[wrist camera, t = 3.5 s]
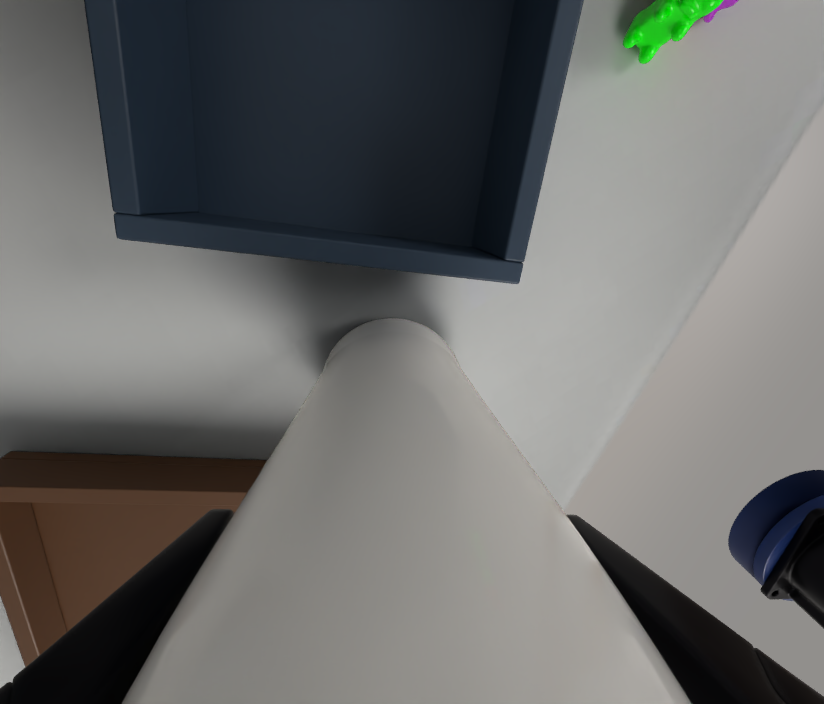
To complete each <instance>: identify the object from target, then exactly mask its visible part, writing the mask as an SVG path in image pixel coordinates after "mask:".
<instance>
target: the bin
mask: <svg viewBox="0 0 824 704" xmlns="http://www.w3.org/2000/svg"><path fill="white" fill-rule="evenodd" d="M583 1H584V0H84V2H85V9H86V17H87V24H88V31H89V39H90V46H91V53H92V61H93V68H94V75H95V83H96V90H97V97H98V105H99V112H100V119H101V126H102V134H103V141H104V148H105V156H106V163H107V170H108V178H109V185H110V192H111V200H112V207H113V211H114V212H116V213H115V214H114V222H115V229H116V236H117V238H119V239H122V240H131V241H140V242H149V243H158V244H166V245H175V246H184V247H193V248H202V249H211V250H220V251H228V252H237V253H246V254H255V255H264V256H273V257H281V258H290V259H299V260H308V261H317V262H326V263H335V264H343V265H352V266H361V267H370V268H379V269H388V270H396V271H405V272H414V273H423V274H432V275H441V276H449V277H458V278H467V279H476V280H485V281H494V282H503V283H511V284H518V283H519V281H520V277H521V272H522V268H523V263H521V262H524V259H525V255H526V250H527V246H528V242H529V237H530V233H531V228H532V224H533V220H534V215H535V211H536V207H537V202H538V198H539V193H540V189H541V185H542V180H543V176H544V172H545V167H546V163H547V158H548V154H549V150H550V145H551V141H552V137H553V132H554V128H555V123H556V119H557V115H558V110H559V106H560V101H561V97H562V93H563V88H564V84H565V80H566V75H567V71H568V66H569V62H570V58H571V53H572V49H573V45H574V40H575V36H576V31H577V27H578V23H579V18H580V14H581V9H582V5H583Z"/></svg>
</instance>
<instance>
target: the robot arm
mask: <svg viewBox="0 0 824 704" xmlns="http://www.w3.org/2000/svg"><path fill="white" fill-rule="evenodd" d="M233 514H234V513H233V511H232V510H230V509H212V510H210V511H208V512H207V513H206V514H205V515H204V516H202V517H201V518H200V519H199V520H198V521H197V522H195V523H194V524H193V525H192V526H191V527H190V528H188V529H187V530H186V531H185V532H184V533H183V534H181V535H180V536H179V537H178V538H177V539H176V540H174V541H173V542H172V543H171V544H170V545H168V546H167V547H166V548H165V549H164V550H163V551H161V552H160V553H159V554H158V555H157V556H156V557H154V558H153V559H152V560H151V561H150V562H149V563H147V564H146V565H145V566H144V567H143V568H141V569H140V570H139V571H138V572H137V573H136V574H134V575H133V576H132V577H131V578H130V579H129V580H127V581H126V582H125V583H124V584H123V585H122V586H120V587H119V588H118V589H117V590H116V591H115V592H113V593H112V594H111V595H110V596H109V597H107V598H106V599H105V600H104V601H103V602H102V603H100V604H99V605H98V606H97V607H96V608H95V609H93V610H92V611H91V612H90V613H89V614H88V615H86V616H85V617H84V618H83V619H82V620H80V621H79V622H78V623H77V624H76V625H75V626H73V627H72V628H71V629H70V630H69V631H68V632H66V633H65V634H64V635H63V636H62V637H61V638H59V639H58V640H57V641H56V642H55V643H54V644H52V645H51V646H50V647H49V648H48V649H46V650H45V651H44V652H43V653H42V654H41V655H39V656H38V657H37V658H36V659H35V660H34V661H32V662H31V663H30V664H29V665H28V666H27V667H25V668H24V669H23V670H22V671H21V672H19V673H18V674H17V675H16V676H15V677H14V679H13V683H11V682H9V683H7V684H5V685H4V686H3V687H2V688H0V704H121V703H122V701H123V699H124V698H125V696H126V694H127V692H128V690H129V689H130V687H131V685H132V683H133V682H134V680H135V678H136V676H137V674H138V673H139V671H140V669H141V667H142V666H143V664H144V662H145V660H146V658H147V657H148V655H149V653H150V651H151V650H152V648H153V646H154V644H155V643H156V641H157V639H158V638H159V636H160V634H161V633H162V631H163V629H164V627H165V626H166V624H167V622H168V621H169V619H170V617H171V616H172V614H173V612H174V610H175V609H176V607H177V605H178V604H179V602H180V600H181V599H182V597H183V595H184V594H185V592H186V590H187V588H188V587H189V585H190V583H191V582H192V580H193V578H194V577H195V575H196V573H197V572H198V570H199V569H200V567H201V565H202V564H203V562H204V561H205V559H206V557H207V556H208V554H209V552H210V551H211V549H212V548H213V546H214V544H215V543H216V541H217V539H218V538H219V536H220V535H221V533H222V531H223V530H224V528H225V527H226V525H227V523H228V522H229V520H230V519H231V517H232V516H233ZM567 517H568V518H569V519H570V521H571V522H572V524H573V525H574V526H575V528H576V529H577V531H578V532H579V533H580V535H581V536H582V538H583V539H584V541H585V542H586V543H587V545H588V546H589V548H590V549H591V550H592V552H593V553H594V555H595V556H596V557H597V559H598V560H599V562H600V563H601V565H602V566H603V567H604V569H605V570H606V572H607V573H608V575H609V576H610V578H611V579H612V581H613V582H614V584H615V585H616V587H617V588H618V590H619V591H620V592H621V594H622V595H623V597H624V598H625V600H626V601H627V603H628V604H629V606H630V607H631V609H632V610H633V612H634V613H635V615H636V616H637V618H638V620H639V621H640V623H641V624H642V626H643V627H644V629H645V630H646V632H647V633H648V635H649V636H650V638H651V639H652V641H653V643H654V644H655V646H656V647H657V649H658V650H659V652H660V653H661V655H662V656H663V658H664V659H665V661H666V663H667V664H668V666H669V667H670V669H671V671H672V672H673V674H674V675H675V677H676V679H677V680H678V682H679V683H680V685H681V687H682V688H683V690H684V691H685V693H686V694H687V696H688V698H689V699H690V701H691V702H692V704H824V697H823V696H822V695H821V694H819V693H818V692H816V691H815V690H814V689H812V688H811V687H809V686H808V685H807V684H805V683H804V682H802V681H801V680H800V679H798V678H797V677H795V676H794V675H793V674H791V673H790V672H789V671H787V670H786V669H784V668H783V667H782V666H780V665H779V664H777V663H776V662H775V661H774V660H772V659H771V658H770V657H768V656H767V655H766V654H764V653H763V652H761V651H760V650H759V649H757V648H753V646H752V644H750V643H749V642H748V641H746V640H745V639H744V638H742V637H741V636H740V635H738V634H737V633H736V632H734V631H733V630H732V629H730V628H729V627H727V626H726V625H725V624H723V623H722V622H721V621H719V620H718V619H717V618H715V617H714V616H713V615H711V614H710V613H709V612H707V611H706V610H705V609H703V608H702V607H700V606H699V605H698V604H696V603H695V602H694V601H692V600H691V599H690V598H688V597H687V596H686V595H684V594H683V593H681V592H680V591H679V590H677V589H676V588H675V587H673V586H672V585H671V584H669V583H668V582H667V581H665V580H664V579H663V578H661V577H660V576H659V575H657V574H656V573H654V572H653V571H652V570H650V569H649V568H648V567H646V566H645V565H643V564H642V563H641V562H639V561H638V560H637V559H636V558H634V557H633V556H631V555H630V554H629V553H627V552H626V551H625V550H623V549H622V548H621V547H619V546H618V545H617V544H615V543H614V542H613V541H611V540H610V539H608V538H607V537H606V536H604V535H603V534H602V533H600V532H599V531H598V530H596V529H595V528H594V527H592V526H591V525H590V524H588V523H587V522H585V521H584V520H583V519H581V518H580V517H578V516H577V515H567ZM761 592H762V593H763V594H764V595H765V596H766V597H767V598H769V599H792V600H793V601H795V602H796V603H797V604H798V605H799V606H800V607H801V608H802V609H803V610H804V611H805V612H806V613H807V614H809V615H810V616H811V617H812V618H813V619H814V620H815V621H816V622H817V623H818V624H819V625H821V627H823V628H824V508H816V509H814V510H812V511H810V512H809V513H808V514H807V516H806V517H805V519H804V520H803V522H802V524H801V525H800V527H799V528H798V530H797V532H796V533H795V535H794V536H793V538H792V540H791V541H790V543H789V544H788V546H787V547H786V549H785V551H784V552H783V554H782V555H781V557H780V559H779V560H778V562H777V563H776V565H775V567H774V568H773V570H772V571H771V573H770V575H769V576H768V578H767V579H766V581H765V583H764V584H763V586H762V588H761Z"/></svg>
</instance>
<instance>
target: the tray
mask: <svg viewBox="0 0 824 704" xmlns="http://www.w3.org/2000/svg"><path fill="white" fill-rule="evenodd" d="M266 462H267V460H247V459H219V458H190V457H162V456H133V455H105V454H76V453H48V452H19V451H11V452H9V453H8V454H6V455H5V456H3V457H2V458H1V459H0V596H1V599H2V602H3V604H4V607H5V610H6V613H7V616H8V619H9V621H10V624H11V627H12V630H13V633H14V636H15V639H16V641H17V644H18V647H19V650H20V653H21V656H22V659H23V661H24V664H25V667H27V666H28V665H29V664H30V663H31V662H32V661H34V660H35V659H36V658H37V657H38V656H39V655H41V654H42V653H43V652H44V651H45V650H46V649H48V648H49V647H50V646H51V645H52V644H54V643H55V642H56V641H57V640H58V639H59V638H61V637H62V636H63V635H64V634H65V633H66V632H68V631H69V630H70V629H71V628H72V627H73V626H75V625H76V624H77V623H78V622H79V621H80V620H82V619H83V618H84V617H85V616H86V615H88V614H89V613H90V612H91V611H92V610H93V609H95V608H96V607H97V606H98V605H99V604H100V603H102V602H103V601H104V600H105V599H106V598H107V597H109V596H110V595H111V594H112V593H113V592H115V591H116V590H117V589H118V588H119V587H120V586H122V585H123V584H124V583H125V582H126V581H127V580H129V579H130V578H131V577H132V576H133V575H134V574H136V573H137V572H138V571H139V570H140V569H141V568H143V567H144V566H145V565H146V564H147V563H149V562H150V561H151V560H152V559H153V558H154V557H156V556H157V555H158V554H159V553H160V552H161V551H163V550H164V549H165V548H166V547H167V546H168V545H170V544H171V543H172V542H173V541H174V540H176V539H177V538H178V537H179V536H180V535H181V534H183V533H184V532H185V531H186V530H187V529H188V528H190V527H191V526H192V525H193V524H194V523H195V522H197V521H198V520H199V519H200V518H201V517H202V516H204V515H205V514H206V513H207V512H208V511H210V510H212V509H230V510H232V511H233V513H234V512H235V511H236V509H237V508H238V506H239V504H240V503H241V501H242V500H243V498H244V497H245V495H246V493H247V492H248V490H249V489H250V487H251V485H252V484H253V482H254V481H255V479H256V478H257V476H258V474H259V473H260V471H261V470H262V468H263V466H264V465H265V463H266Z"/></svg>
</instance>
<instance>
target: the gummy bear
mask: <svg viewBox="0 0 824 704" xmlns="http://www.w3.org/2000/svg"><path fill="white" fill-rule="evenodd" d="M736 2H738V0H655V1H654V2H653V3H652V4H651V5H650V6H648V7H647V8H645V9H644V10H642V11H640V12H639V13H638V14H637V15H636V16H635V18H634V19H633V21H632V23H631V25H630V27H629V29H628V31H627V33H626V35H625V37H624V39H623V46H624V47H625V48H631V47H633V46H634V45H636V46H637V47H638V48H639V51H640V52H639V56H638V60H639V62H640V63H641V64H646V63H648V62H649V61H650V60H651V59H652V58H653V56H654V55H655V53H656V52H657V51H658V49H659V48H660V47H661V46H662V45H663V44H665V43H666V42H668V41H669V40H670V39H672V40H673V41H679V40H681V39H682V38H683V37H684V36H685V34H686V33H687V31H688V30H689V29H690V27H691V26H692V25H693V23H694V22H695V21H697V20H698V19H699V18H701V17H703V16H704V22H710V21H711V20H712V19H713V17H714V15H715V14H716V12H717V11H719V10H720V9H724V8H728V7H731V6H733V5H734V4H735V3H736Z"/></svg>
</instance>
